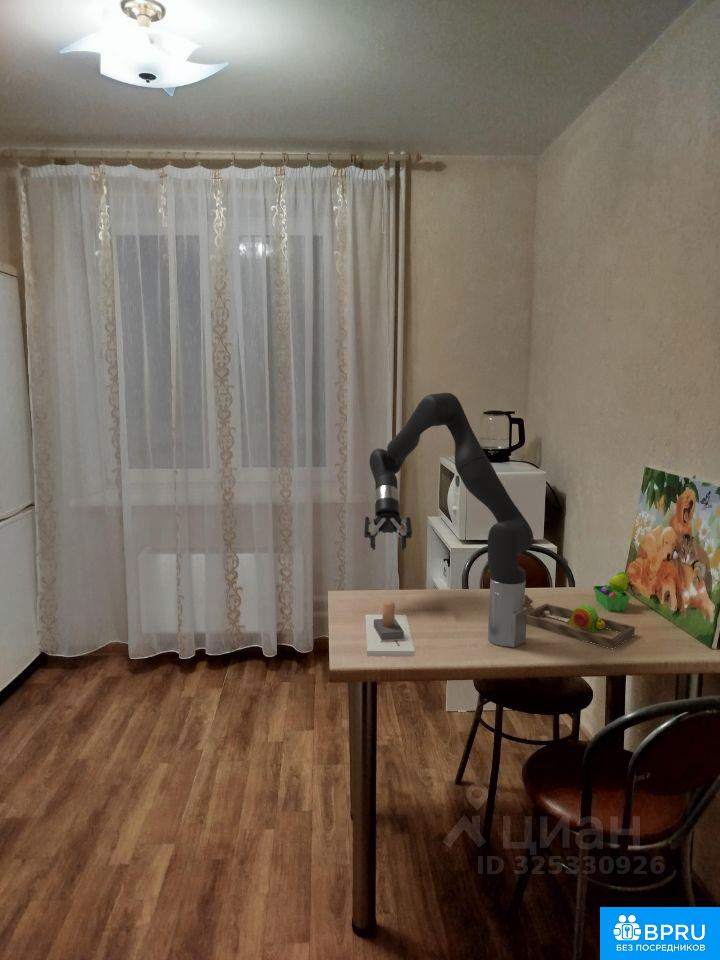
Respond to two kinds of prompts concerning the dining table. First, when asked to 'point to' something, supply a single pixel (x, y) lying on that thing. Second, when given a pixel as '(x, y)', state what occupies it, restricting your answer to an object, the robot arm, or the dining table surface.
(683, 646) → the dining table surface
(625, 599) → the fruit basket
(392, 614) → the sanding block
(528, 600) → the wooden fragment
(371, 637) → the marked board
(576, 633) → the wooden tray
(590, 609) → the toy snail
